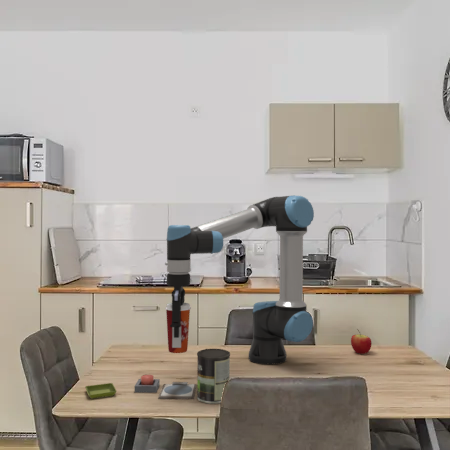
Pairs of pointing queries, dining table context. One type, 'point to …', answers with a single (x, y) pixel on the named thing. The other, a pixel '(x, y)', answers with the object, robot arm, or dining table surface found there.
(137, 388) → the button housing
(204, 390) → the coffee can
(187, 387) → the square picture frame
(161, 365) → the dining table surface
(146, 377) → the button
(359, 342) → the apple
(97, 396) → the green rectangular tray
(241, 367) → the dining table surface
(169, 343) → the coffee cup
